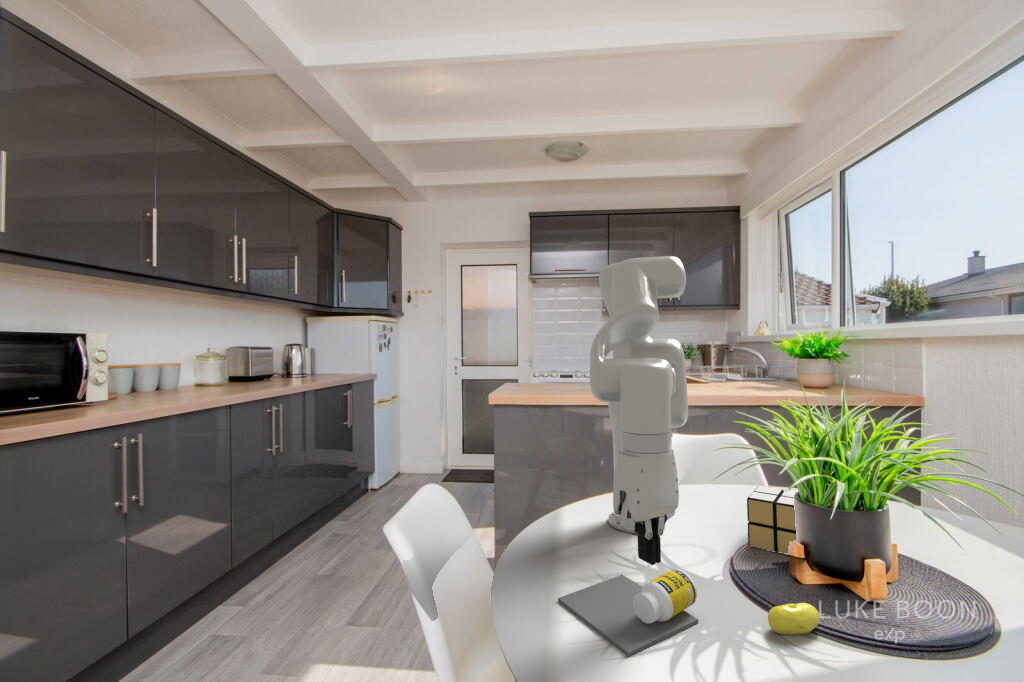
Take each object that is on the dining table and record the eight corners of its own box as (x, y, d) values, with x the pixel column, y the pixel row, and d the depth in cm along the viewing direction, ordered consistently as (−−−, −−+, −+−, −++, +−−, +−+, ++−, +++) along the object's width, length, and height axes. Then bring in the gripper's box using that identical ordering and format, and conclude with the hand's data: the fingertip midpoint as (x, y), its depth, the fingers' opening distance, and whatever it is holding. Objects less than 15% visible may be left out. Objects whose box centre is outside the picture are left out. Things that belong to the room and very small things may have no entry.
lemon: (759, 625, 69) (759, 598, 69) (808, 619, 70) (808, 593, 70) (780, 643, 64) (779, 615, 64) (831, 636, 66) (831, 608, 66)
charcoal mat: (622, 577, 83) (622, 574, 83) (698, 622, 69) (698, 619, 69) (558, 601, 76) (558, 597, 76) (628, 656, 62) (628, 652, 62)
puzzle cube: (759, 531, 102) (757, 485, 102) (813, 542, 96) (812, 493, 96) (747, 547, 94) (746, 497, 94) (806, 560, 88) (804, 507, 88)
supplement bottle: (698, 575, 72) (659, 598, 66) (699, 610, 72) (660, 637, 66) (667, 562, 76) (628, 583, 70) (668, 595, 76) (629, 619, 70)
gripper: (661, 432, 79) (664, 540, 79) (592, 444, 72) (596, 563, 72) (698, 439, 73) (701, 557, 73) (627, 454, 65) (631, 585, 65)
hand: (649, 560), depth 72 cm, fingers closed
